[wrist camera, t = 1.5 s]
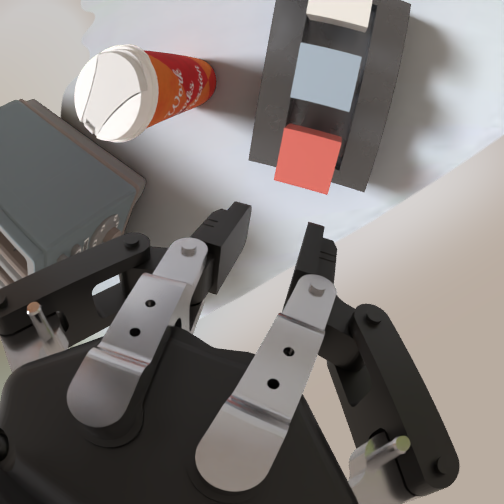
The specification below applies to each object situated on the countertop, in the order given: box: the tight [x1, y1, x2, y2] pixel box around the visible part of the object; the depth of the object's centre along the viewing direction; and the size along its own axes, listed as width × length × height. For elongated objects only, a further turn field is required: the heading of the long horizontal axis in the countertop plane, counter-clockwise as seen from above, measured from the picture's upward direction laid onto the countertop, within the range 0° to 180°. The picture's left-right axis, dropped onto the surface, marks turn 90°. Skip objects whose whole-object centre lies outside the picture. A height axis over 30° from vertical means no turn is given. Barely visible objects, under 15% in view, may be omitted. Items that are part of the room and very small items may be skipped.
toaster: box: [0, 99, 146, 289], centre depth 35 cm, size 19×35×20 cm, turn 57°
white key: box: [306, 0, 372, 33], centre depth 16 cm, size 4×4×5 cm
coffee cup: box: [74, 44, 216, 142], centre depth 24 cm, size 8×8×15 cm
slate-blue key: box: [290, 43, 362, 112], centre depth 20 cm, size 4×4×5 cm
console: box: [249, 0, 411, 192], centre depth 24 cm, size 20×12×4 cm, turn 171°
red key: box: [274, 123, 342, 195], centre depth 25 cm, size 4×4×5 cm
